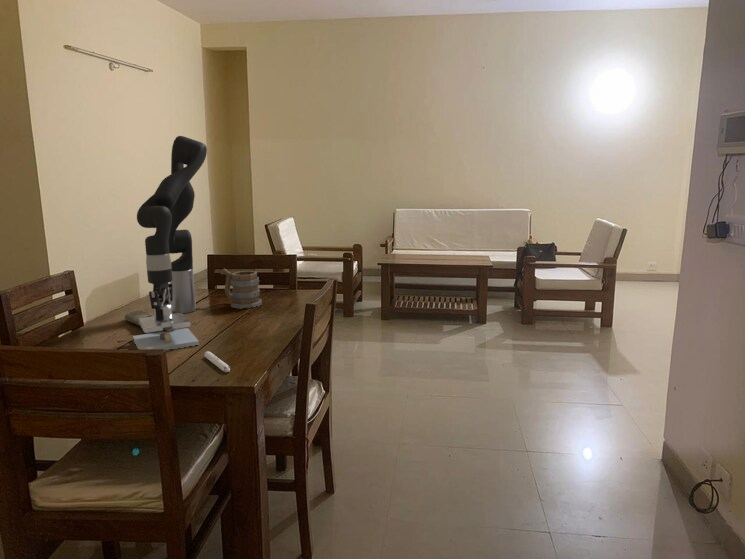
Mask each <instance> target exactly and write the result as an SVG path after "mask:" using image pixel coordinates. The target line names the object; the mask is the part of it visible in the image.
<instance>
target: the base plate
mask: <svg viewBox="0 0 745 559" xmlns="http://www.w3.org/2000/svg"><path fill="white" fill-rule="evenodd" d="M132 338H133V339H134V340H133V343H134V344H136V345H135V346H137V347H136V348H138V349H165V350H166V351H170V350H169V349H174V350H179V349H178V348H180V349H185V348H184V347H186V348H190V347H189V346H192V347H196V346H195V345H198V346H200V341H199V340H198V338H197V337H196V336H195V335H194V333H193V332H192V331H191V329H189V327H184V328H177V329H170V330H165V331H164V330H163V331H156V332H149V333H144V334H138V335H132ZM138 349H137V350H138ZM166 351H165V352H166Z"/></svg>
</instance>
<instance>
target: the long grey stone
mask: <svg viewBox="0 0 745 559" xmlns="http://www.w3.org/2000/svg"><path fill="white" fill-rule="evenodd" d="M153 316H154V313H151V312H146V311H142V310H136V311H135V310H133V311H130V312H127V313H125V315H124V320H125V319H126V320H125V321H127V322H130V323H131V324H135V325H137V326H140V327H141V325H140V324H139V318H146V317H153ZM164 330H165V331H169V330H174V329H173V328H172V327H164V328H163V330H162V331H164Z"/></svg>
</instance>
